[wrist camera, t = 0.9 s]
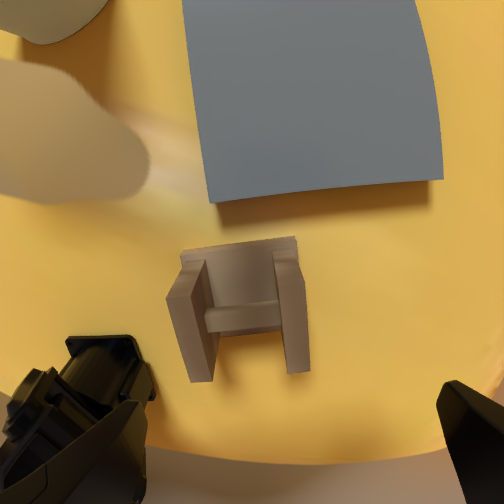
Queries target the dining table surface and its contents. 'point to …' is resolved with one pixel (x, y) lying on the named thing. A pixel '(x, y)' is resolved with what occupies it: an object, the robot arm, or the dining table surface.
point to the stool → (239, 301)
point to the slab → (311, 95)
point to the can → (47, 18)
